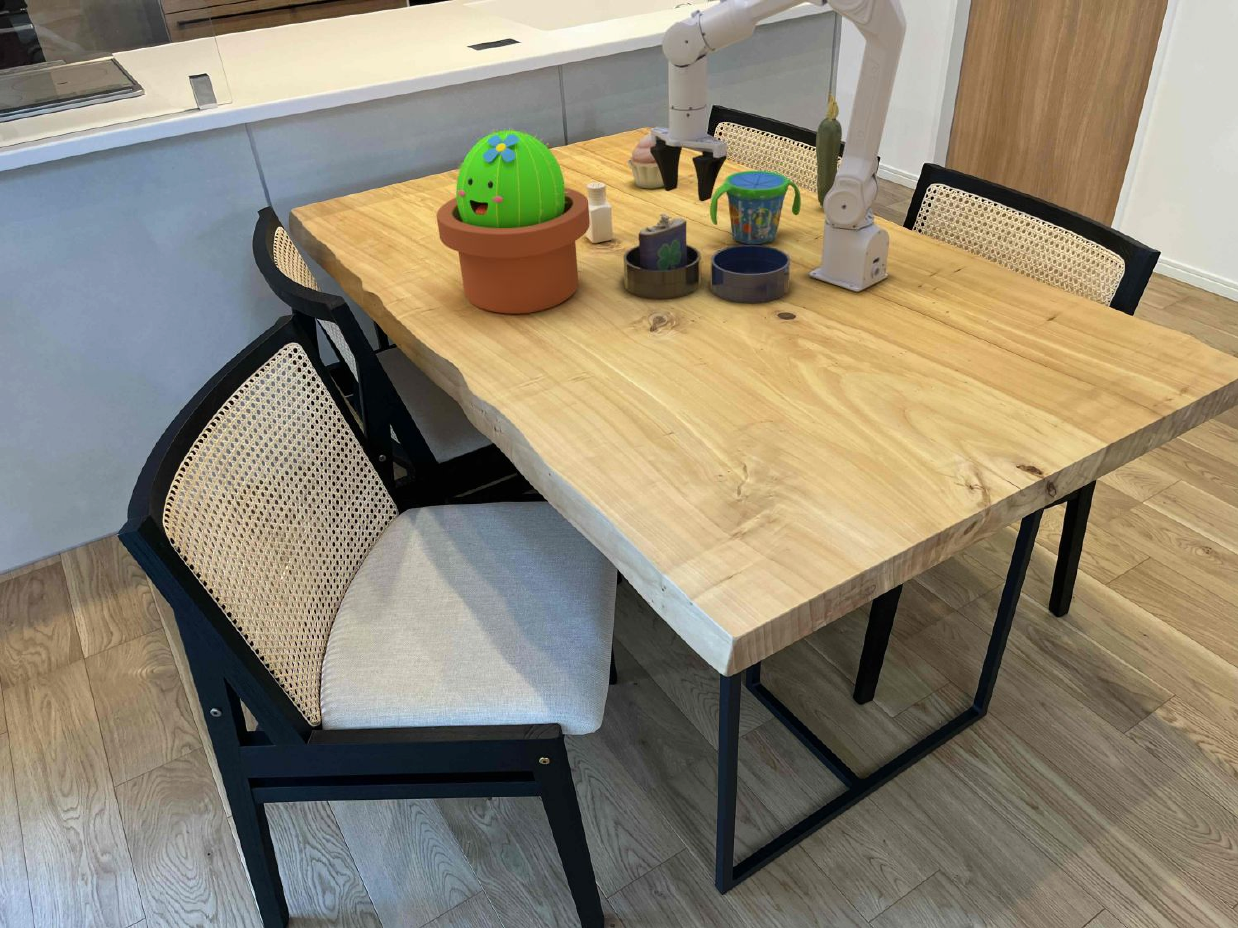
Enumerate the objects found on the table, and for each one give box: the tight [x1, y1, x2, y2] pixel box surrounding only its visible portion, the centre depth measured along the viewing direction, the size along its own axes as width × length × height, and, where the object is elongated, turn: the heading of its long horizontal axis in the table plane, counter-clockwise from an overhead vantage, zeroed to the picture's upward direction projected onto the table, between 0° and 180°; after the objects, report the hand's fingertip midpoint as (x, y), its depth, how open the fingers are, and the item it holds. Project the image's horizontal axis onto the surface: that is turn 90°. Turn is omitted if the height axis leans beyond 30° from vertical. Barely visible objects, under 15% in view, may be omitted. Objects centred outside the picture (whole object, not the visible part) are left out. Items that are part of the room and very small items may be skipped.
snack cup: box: [709, 170, 802, 245], centre depth 158 cm, size 16×10×10 cm
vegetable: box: [815, 93, 843, 208], centre depth 165 cm, size 4×4×20 cm
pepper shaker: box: [585, 181, 614, 244], centre depth 161 cm, size 4×4×10 cm
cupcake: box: [626, 132, 664, 190], centre depth 184 cm, size 9×9×10 cm
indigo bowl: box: [709, 244, 792, 304], centre depth 142 cm, size 12×12×4 cm
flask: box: [638, 213, 688, 270], centre depth 143 cm, size 9×3×11 cm, turn 131°
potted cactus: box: [436, 126, 590, 314], centre depth 139 cm, size 22×22×25 cm
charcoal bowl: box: [622, 244, 702, 300], centre depth 145 cm, size 12×12×4 cm
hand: (687, 194), depth 149 cm, fingers open, 7 cm apart
